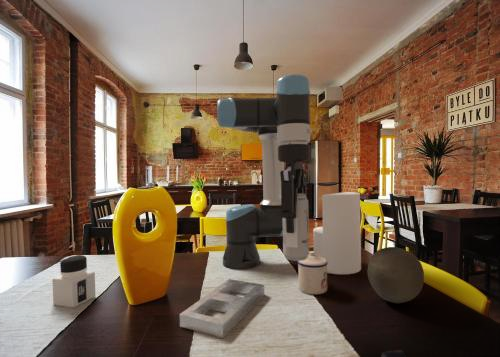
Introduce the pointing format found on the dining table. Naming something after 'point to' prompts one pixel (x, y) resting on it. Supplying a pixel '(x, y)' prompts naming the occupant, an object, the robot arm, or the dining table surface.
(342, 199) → the cylinder
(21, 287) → the dining table surface
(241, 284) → the rail
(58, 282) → the container
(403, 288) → the cantaloupe
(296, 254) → the energy drink can
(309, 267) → the teacup with lid
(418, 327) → the dining table surface
